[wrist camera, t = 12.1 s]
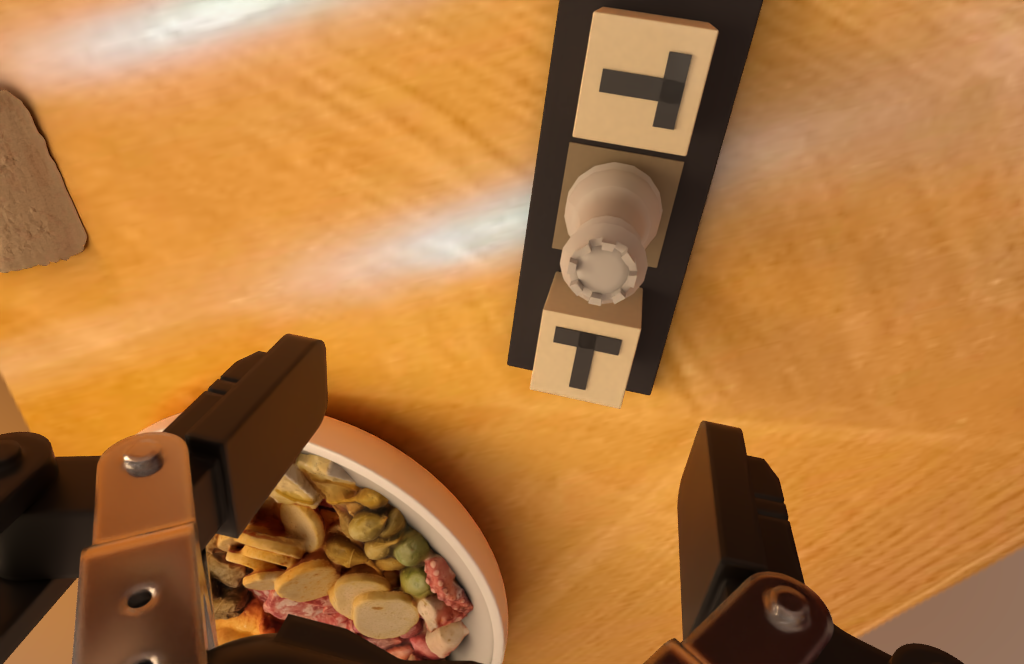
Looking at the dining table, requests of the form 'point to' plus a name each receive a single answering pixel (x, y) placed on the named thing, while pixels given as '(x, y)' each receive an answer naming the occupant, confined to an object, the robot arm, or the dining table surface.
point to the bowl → (362, 555)
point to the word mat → (678, 178)
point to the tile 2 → (643, 79)
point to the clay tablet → (32, 196)
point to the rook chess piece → (609, 232)
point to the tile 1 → (586, 346)
